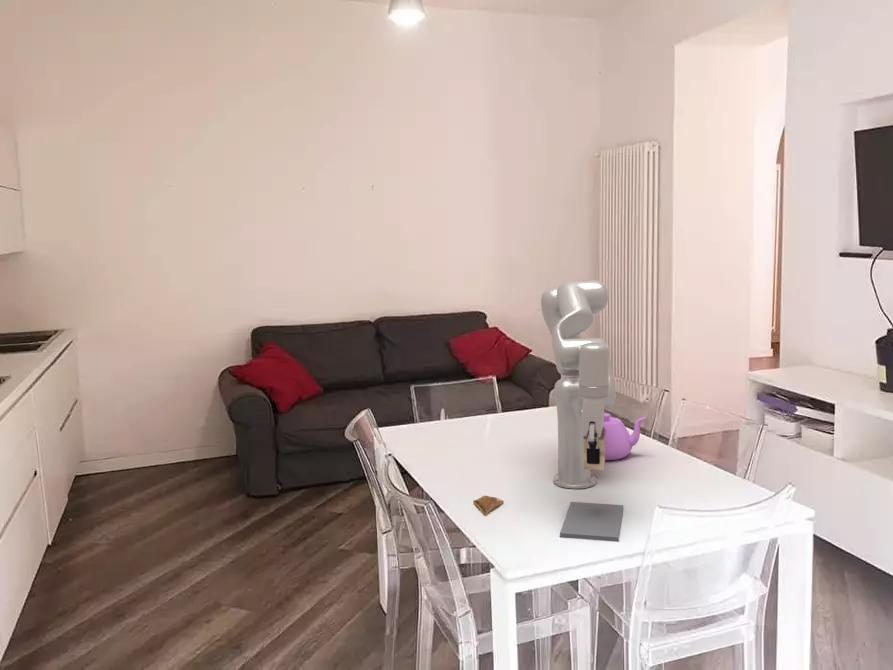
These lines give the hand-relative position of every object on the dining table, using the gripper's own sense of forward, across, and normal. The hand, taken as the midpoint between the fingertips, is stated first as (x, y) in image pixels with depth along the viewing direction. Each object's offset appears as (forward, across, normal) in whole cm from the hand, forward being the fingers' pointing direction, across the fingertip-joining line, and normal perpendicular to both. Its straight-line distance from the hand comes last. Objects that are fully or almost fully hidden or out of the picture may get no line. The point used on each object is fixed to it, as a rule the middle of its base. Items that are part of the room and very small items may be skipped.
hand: (594, 459), depth 208 cm
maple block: (+2, 0, 0) cm, 2 cm away
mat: (+16, +4, 0) cm, 16 cm away
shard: (+16, -2, -28) cm, 32 cm away
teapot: (+15, -54, +1) cm, 56 cm away
